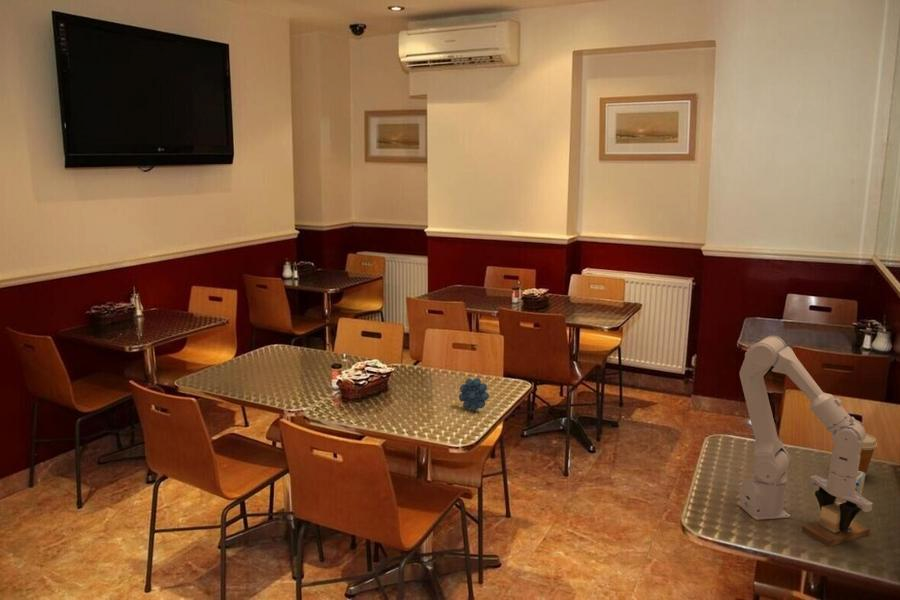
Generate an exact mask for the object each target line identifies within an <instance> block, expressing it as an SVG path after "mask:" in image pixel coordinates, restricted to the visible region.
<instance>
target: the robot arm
mask: <svg viewBox="0 0 900 600" xmlns="http://www.w3.org/2000/svg"><path fill="white" fill-rule="evenodd" d="M772 367H773V368H772ZM771 368H772V369H771ZM770 369H771V372H774V373H779V374H783V375H786V376H788V378H789V379H790V380H791V381H792V383H794V385H796V387H797V388H798V389H799V390H800V391H801V392H802V394H804V395H805V396H806V398H807V399H809V401H810V405H809V407H810V410H811V412H812V413H813V414H814V415H815V417H817V418H818V420H819V421H820V422H821V423H822V425H823V426H824V427H825V429H827V431H829V433H831V434H832V435H831V440H832V443H833V448H832V449H833V450H832V451H831V458H830V462H829V463H830V465H829V470H828V476H827V479H826V478H823V477H821V476H818V475H811V476H810V478H809V485H810V486H816V487H817V488H818V490H816V491H815V492H814V496H815V497H816V500H817V501H818V504H819V510H821V509H822V506H826V505H830V504H833V503H836V500H837V497H838V498H841V499H843V500H845V501H846V503H842V504H839V506H840V513H841V519H840V525H839V529H840V531H846V530H848V528H849V526H850V524H851V522H852V520H854V518H856V516H857V515H858V514H859V513H860V512H861V511H862V512H864V513H868V512H871V511H872V509H873V504H874V503H873V502H871V501H869V500H868V499H867V498H865V497H864V496H861V495H860V494H858V493H857V492H856V491H855V487H856V481H857V475H858V469H859V463H860V453H861V443H862V442H863V440H864V439H865V436H866V432H867V431H866V429H865V427H864V425H863V422H861V421H859V420H857V419H856V418H855V417H854V416H851V415H850V414H849V413H848V412H847V411H846V408H844V407H843V406H842V405H841V403H842V401H841V399H840V398H839V397H836V398H835V396H834V395H833V394H831V393H827V392H824V391H823V390H822V388H821V387H820V386H819V385H818V383H816V381H815V380H814V378H813V377H812V376H811V375H810V373H809V372H808V371H807V368H805V367H804V365H803V364H802V362H801V361H800V360H799V359H798V357H797V356H796V354H795V352H794V351H793V349H792V348H791V347H790V346H787V344H786V341H785V340H783V339H782V338H781V337H779V336H777V335H768V336H766V337H764V338H762V340H760V341H759V342H757V343H754V344H752V346H751V347H750V348H749V349H747V351H746V352H745V353H744V359H743V362H742V365H741V367H740V370H739V379H740V382H741V386H742V392H743V394H744V395H743V397H744V399H745V404H746V408H747V411H748V415H749V419H750V424H751V429H752V433H753V437H754V441H755V447H754V451H753V452H754V453H753V457H754V464H753V471H754V472H753V473H754V475H753V476H751V477H748V478H744V480H743V482H742V484H741V492H740V499H739V500H740V501H738V502H737V504H738V506H739V507H741V508H742V509H743V510H744V511H745V512H746V513H747V514H748V515H750V516H751V517H752V519H754V520H756V521H757V520H760V521H761V520H771V519H772V520H773V519H774V520H775V519H787V518H791V515H790V514H789V513H788V512H786V511H785V509H784V503H785V497H786V495H785V494H786V488H787V481H788V478H787V475H786V471H787V470H789V469H790V467H791V465H792V458H791V455H789V453H788V452H787V450H786V449H785V446H784V443H783V441H782V440H781V439H780V438H779V437H778V433H777V427H776V423H775V421H774V417H773V416H774V415H773V411H772V407H771V404H770V399H769V395H768V392H767V388H766V386H767V385H766V382H765V378H764V376H765V375H766V374H767V373H768V371H769V370H770Z"/></svg>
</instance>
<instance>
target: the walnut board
mask: <svg viewBox="0 0 900 600" xmlns="http://www.w3.org/2000/svg"><path fill="white" fill-rule="evenodd" d="M819 522H820V520H819V521H815V522H812V523H809V524H805V525H803V526H802V528H801V529H802V530H801V532H803V534H805V535H807V536H809V537H811V538H812V539H814V540H816V541H817V542H818V543H820V544H822V545H824V546H825V547H827V548H830V547H833V546H837V545H840V544H843V543H847V542H849V541H853V540H856V539H859V538H862V537H863V538H864V537H867V536H869V535H870V533H871V528H869V527H867V526H865V525H864V524H862V523H860V522H858V521H856V520H854V519H853V523H852V529H850V530H847V531H844V532H840V533H837V534H833V533H831V532H829V531H827V530H825V529H824V528H822V527H820V526H819Z"/></svg>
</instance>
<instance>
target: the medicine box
mask: <svg viewBox="0 0 900 600" xmlns="http://www.w3.org/2000/svg"><path fill="white" fill-rule="evenodd" d="M865 478H866V475H865V473H864V472H861V471H858V475H857V481H856V487H855V491H856V492H857V493H858V494H860V495H861V496H862V494H863V490H864V485H865V480H866V479H865ZM862 497H863V496H862ZM837 502H840V503H846V501H845V500H843V499H841V498H838V497H836V501H835V503H837Z"/></svg>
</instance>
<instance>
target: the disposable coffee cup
mask: <svg viewBox="0 0 900 600" xmlns="http://www.w3.org/2000/svg"><path fill="white" fill-rule="evenodd" d="M877 446H878V443H877V439H876V437H875V436H873V435H871V434H869V433H866V436H865V439H864V440H863V442H862V443H861V453H860V463H859V469H858V471H861V472H864V473H865V476H866V475H867V473H868V468H869V466H870V463H871V460H872V456H873V454H874V451H875V449H876V448H877Z"/></svg>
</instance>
